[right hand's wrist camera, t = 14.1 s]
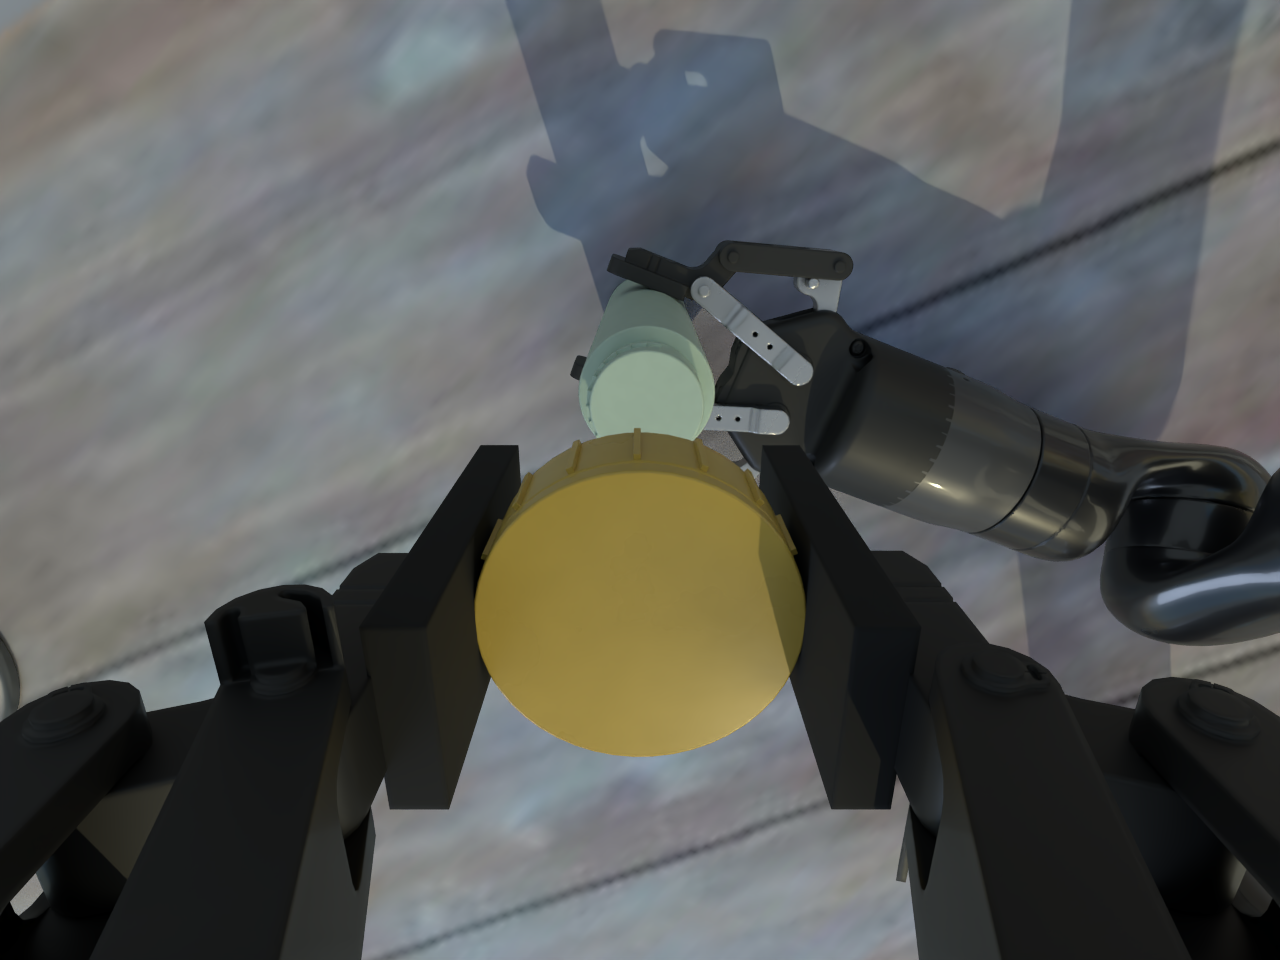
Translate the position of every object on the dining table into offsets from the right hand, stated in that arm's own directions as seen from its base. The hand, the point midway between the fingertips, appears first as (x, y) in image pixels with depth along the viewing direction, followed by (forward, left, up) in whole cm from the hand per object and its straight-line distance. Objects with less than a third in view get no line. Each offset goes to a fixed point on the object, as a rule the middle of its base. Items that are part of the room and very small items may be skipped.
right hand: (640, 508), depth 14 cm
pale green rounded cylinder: (0, 0, -27) cm, 27 cm away
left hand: (-2, -1, -20) cm, 21 cm away
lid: (0, 0, +4) cm, 4 cm away
